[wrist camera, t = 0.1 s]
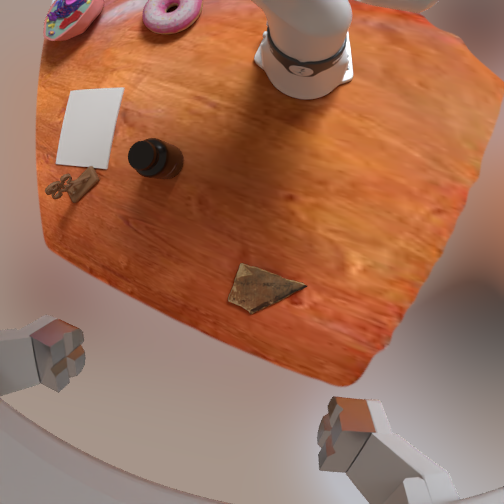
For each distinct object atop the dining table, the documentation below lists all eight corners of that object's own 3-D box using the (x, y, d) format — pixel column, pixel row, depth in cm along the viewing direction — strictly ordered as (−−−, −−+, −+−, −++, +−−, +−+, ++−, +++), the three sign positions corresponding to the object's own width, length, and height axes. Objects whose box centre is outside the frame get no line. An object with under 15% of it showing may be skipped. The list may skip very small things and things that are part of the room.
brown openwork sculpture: (75, 203, 59) (39, 210, 48) (68, 189, 59) (32, 194, 47) (99, 179, 57) (63, 182, 46) (92, 165, 57) (55, 165, 45)
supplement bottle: (180, 182, 56) (154, 180, 44) (149, 176, 56) (118, 174, 44) (188, 147, 54) (163, 137, 42) (156, 142, 55) (127, 132, 43)
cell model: (50, 47, 52) (24, 35, 41) (86, -11, 48) (65, -28, 37) (88, 53, 52) (60, 37, 41) (128, -11, 47) (108, -32, 36)
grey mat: (71, 91, 54) (70, 90, 54) (124, 88, 53) (123, 87, 53) (56, 164, 58) (55, 163, 58) (107, 169, 57) (106, 169, 56)
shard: (307, 283, 57) (307, 286, 55) (289, 324, 59) (289, 329, 57) (241, 259, 58) (240, 262, 56) (227, 302, 60) (225, 306, 58)
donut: (202, 34, 49) (195, 23, 44) (143, 43, 51) (133, 34, 46) (208, -11, 47) (202, -23, 42) (153, -1, 48) (144, -11, 43)
